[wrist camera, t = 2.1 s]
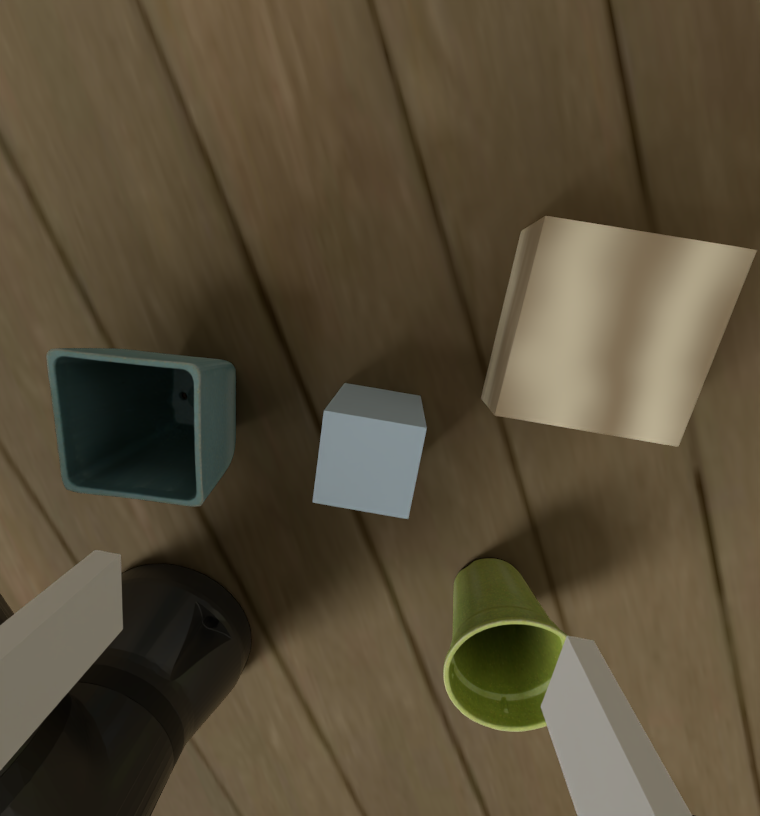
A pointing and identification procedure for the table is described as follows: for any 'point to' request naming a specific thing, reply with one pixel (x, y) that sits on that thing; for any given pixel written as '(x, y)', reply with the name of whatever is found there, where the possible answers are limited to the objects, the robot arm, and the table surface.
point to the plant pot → (500, 648)
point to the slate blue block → (370, 450)
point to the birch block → (611, 328)
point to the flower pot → (142, 423)
